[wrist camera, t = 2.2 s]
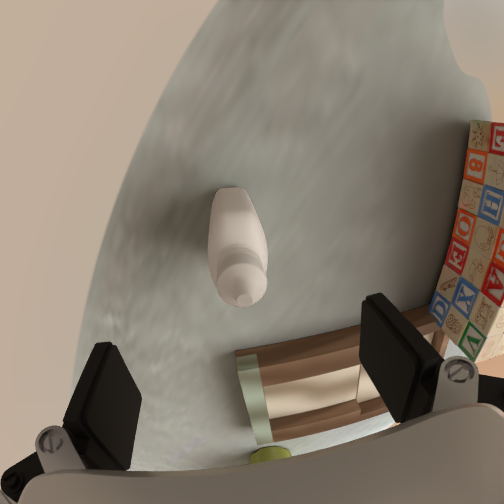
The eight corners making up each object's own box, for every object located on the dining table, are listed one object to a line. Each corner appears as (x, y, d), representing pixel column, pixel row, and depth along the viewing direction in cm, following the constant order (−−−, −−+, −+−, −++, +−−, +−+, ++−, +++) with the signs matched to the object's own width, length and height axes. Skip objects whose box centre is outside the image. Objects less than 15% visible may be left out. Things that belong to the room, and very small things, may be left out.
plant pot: (242, 470, 40) (247, 515, 32) (234, 444, 36) (239, 496, 28) (299, 462, 40) (310, 505, 32) (300, 434, 37) (314, 485, 29)
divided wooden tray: (235, 350, 29) (237, 371, 26) (441, 300, 30) (455, 313, 27) (254, 426, 35) (257, 445, 32) (420, 381, 36) (430, 394, 33)
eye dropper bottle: (273, 201, 24) (320, 266, 13) (241, 261, 26) (258, 359, 15) (222, 177, 23) (226, 223, 12) (192, 240, 24) (174, 331, 13)
